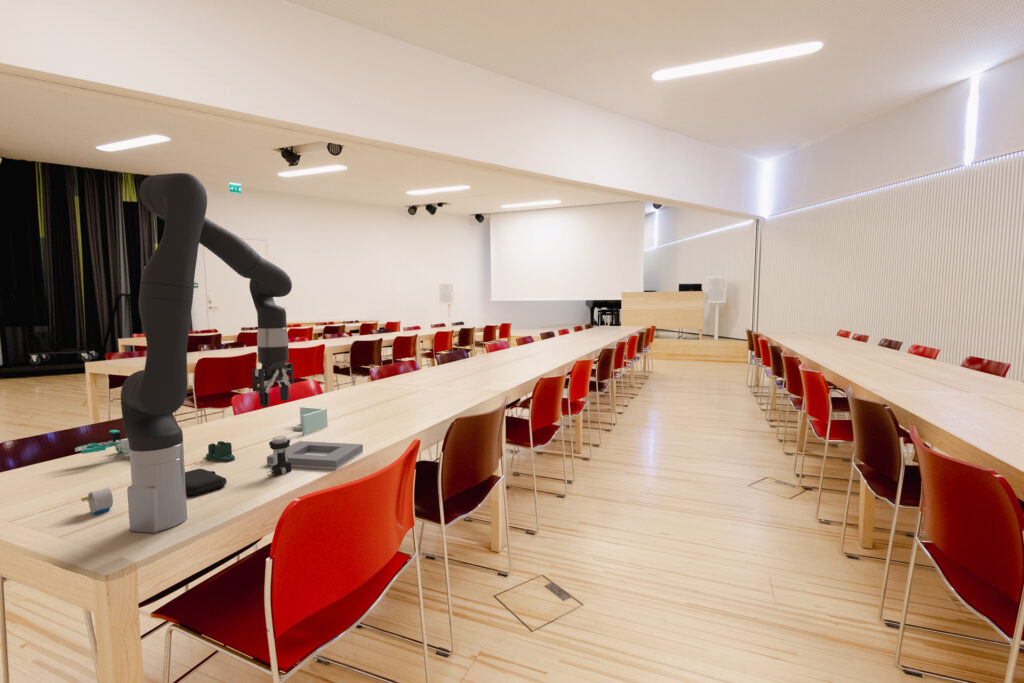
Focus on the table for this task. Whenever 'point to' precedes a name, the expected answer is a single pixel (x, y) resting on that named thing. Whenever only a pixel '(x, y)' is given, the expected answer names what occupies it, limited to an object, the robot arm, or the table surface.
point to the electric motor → (99, 501)
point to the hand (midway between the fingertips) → (275, 403)
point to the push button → (280, 456)
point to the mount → (220, 452)
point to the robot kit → (107, 444)
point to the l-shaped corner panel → (311, 420)
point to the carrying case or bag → (202, 482)
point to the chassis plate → (320, 454)
